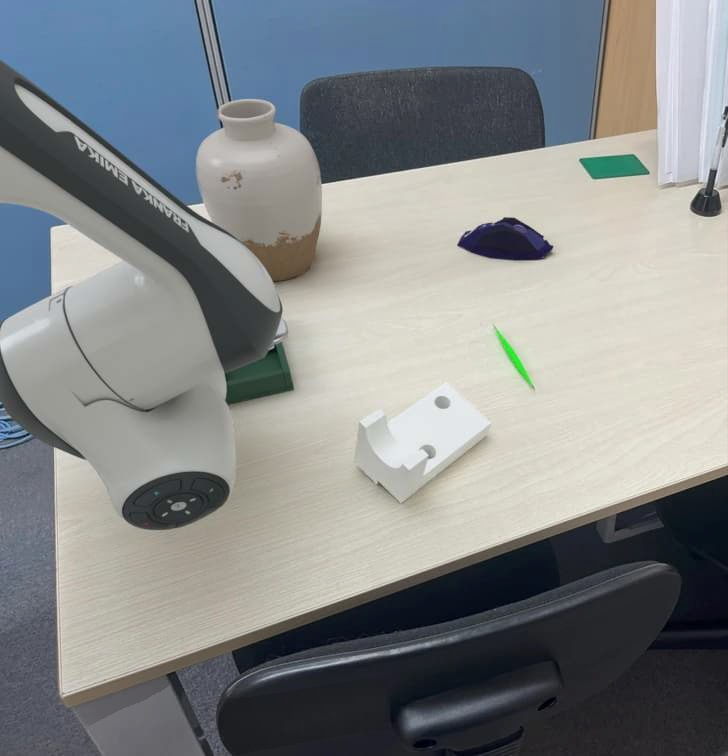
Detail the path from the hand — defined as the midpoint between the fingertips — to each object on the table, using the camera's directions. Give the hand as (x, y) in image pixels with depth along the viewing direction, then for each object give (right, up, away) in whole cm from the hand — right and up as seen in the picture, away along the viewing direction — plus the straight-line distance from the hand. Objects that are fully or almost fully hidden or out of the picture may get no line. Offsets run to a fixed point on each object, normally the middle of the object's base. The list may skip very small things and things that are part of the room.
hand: (161, 283), depth 70 cm
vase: (+1, +7, +34) cm, 35 cm away
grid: (-1, -8, +17) cm, 19 cm away
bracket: (+26, -18, +7) cm, 32 cm away
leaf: (+35, -7, +20) cm, 41 cm away
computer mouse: (+34, +11, +41) cm, 54 cm away
